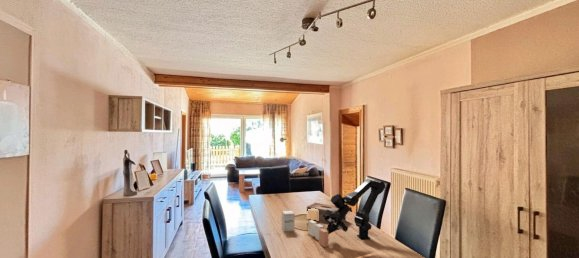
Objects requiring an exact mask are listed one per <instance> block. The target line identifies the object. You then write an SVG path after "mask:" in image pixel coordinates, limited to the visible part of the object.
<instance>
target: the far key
mask: <svg viewBox="0 0 579 258" xmlns="http://www.w3.org/2000/svg"><path fill="white" fill-rule="evenodd" d="M315 224H318V222H317V221H313V220H308V224H307V225H308V228H307V230H308V231H307V233H308V235H310V236H311V237H315Z"/></svg>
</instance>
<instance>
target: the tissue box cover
mask: <svg viewBox="0 0 579 258" xmlns="http://www.w3.org/2000/svg"><path fill="white" fill-rule="evenodd" d="M311 208H315V209H318V210H319V221H318V222H322V223H323V222H324V223H323V224H327V222H326V221H325V220H324V219H323V218H322V216H323V215H324V214H326V212H327V209H328V210H330V211H335V210H336V211H337V210H338V209H339V208H336V207H335V205H334V204H333V205H332V204H327V203H320V202H313V203H312V204H310V205H308V206H306V212H307V211H308V209H311ZM329 217H330V216H329ZM346 217H347V215H346V216H345V218H346ZM330 218H331V217H330ZM331 219H332V218H331ZM346 221H347V218H346V219H345V220H344V219H343V220H342V222H343V223H345V222H346Z"/></svg>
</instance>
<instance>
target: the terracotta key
mask: <svg viewBox="0 0 579 258" xmlns="http://www.w3.org/2000/svg"><path fill="white" fill-rule="evenodd" d="M318 245H321V246H322V247H323V248H326V247H329V234H328V231H327V229H325V228H324V229H319V240H318Z"/></svg>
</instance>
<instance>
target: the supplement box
mask: <svg viewBox="0 0 579 258" xmlns="http://www.w3.org/2000/svg"><path fill="white" fill-rule="evenodd" d="M281 230H282V231H283V232H294V231H295V212H294V211H293V210H283V211H281Z"/></svg>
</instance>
